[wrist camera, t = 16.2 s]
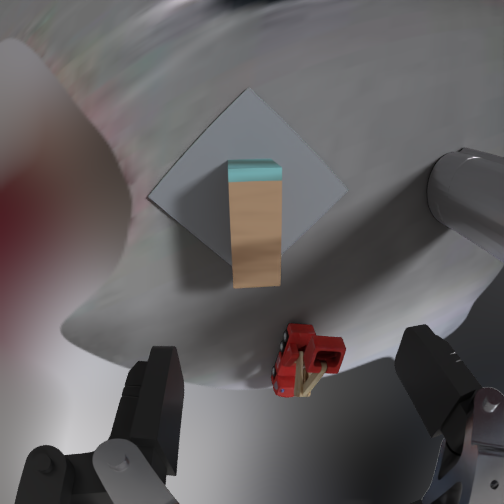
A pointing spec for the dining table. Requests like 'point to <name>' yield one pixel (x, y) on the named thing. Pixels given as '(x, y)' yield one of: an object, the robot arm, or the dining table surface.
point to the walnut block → (255, 222)
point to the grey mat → (246, 147)
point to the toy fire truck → (305, 360)
